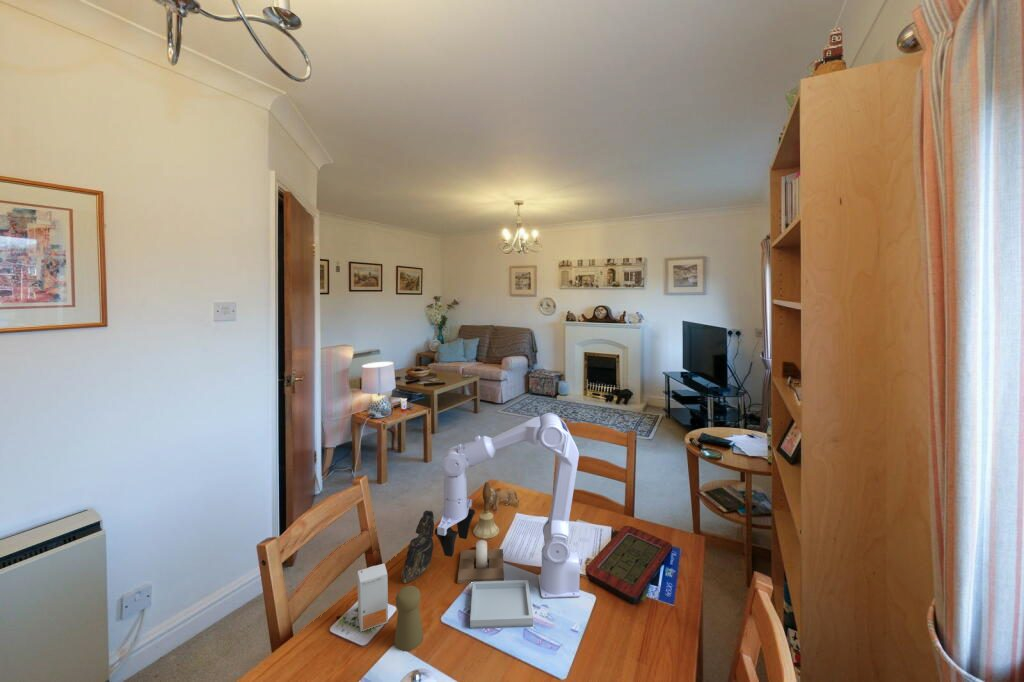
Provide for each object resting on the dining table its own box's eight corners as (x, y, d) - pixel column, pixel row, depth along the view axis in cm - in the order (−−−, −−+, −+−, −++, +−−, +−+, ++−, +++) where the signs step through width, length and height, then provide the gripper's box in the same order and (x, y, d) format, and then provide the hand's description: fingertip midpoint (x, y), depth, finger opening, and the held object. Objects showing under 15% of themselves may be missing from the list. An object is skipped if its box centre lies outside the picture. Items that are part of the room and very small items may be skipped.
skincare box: (360, 633, 85) (358, 582, 84) (358, 619, 88) (356, 570, 87) (389, 623, 87) (387, 573, 86) (385, 610, 91) (384, 562, 90)
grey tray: (528, 587, 99) (528, 580, 99) (532, 626, 87) (533, 618, 87) (472, 589, 98) (472, 581, 98) (470, 628, 86) (470, 620, 86)
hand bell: (484, 521, 129) (484, 475, 127) (504, 529, 124) (504, 481, 122) (467, 533, 122) (467, 484, 121) (488, 542, 117) (488, 492, 116)
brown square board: (502, 552, 112) (502, 549, 112) (504, 582, 100) (504, 578, 100) (461, 554, 112) (461, 550, 112) (457, 584, 100) (457, 579, 100)
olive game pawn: (415, 653, 80) (414, 604, 79) (389, 648, 81) (387, 599, 80) (427, 629, 86) (427, 583, 85) (402, 625, 87) (401, 579, 86)
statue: (394, 581, 101) (393, 526, 99) (425, 555, 111) (424, 505, 110) (411, 588, 98) (410, 532, 97) (440, 561, 109) (440, 510, 107)
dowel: (487, 563, 108) (487, 539, 107) (487, 571, 105) (487, 546, 104) (476, 564, 108) (476, 540, 107) (475, 571, 105) (475, 547, 104)
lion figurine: (488, 518, 130) (488, 492, 130) (480, 511, 135) (480, 486, 134) (523, 505, 139) (523, 481, 138) (514, 499, 143) (514, 476, 142)
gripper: (455, 480, 106) (455, 527, 107) (425, 506, 92) (426, 560, 94) (478, 484, 104) (479, 533, 105) (452, 512, 90) (452, 567, 91)
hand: (456, 546), depth 99 cm, fingers open, 7 cm apart
